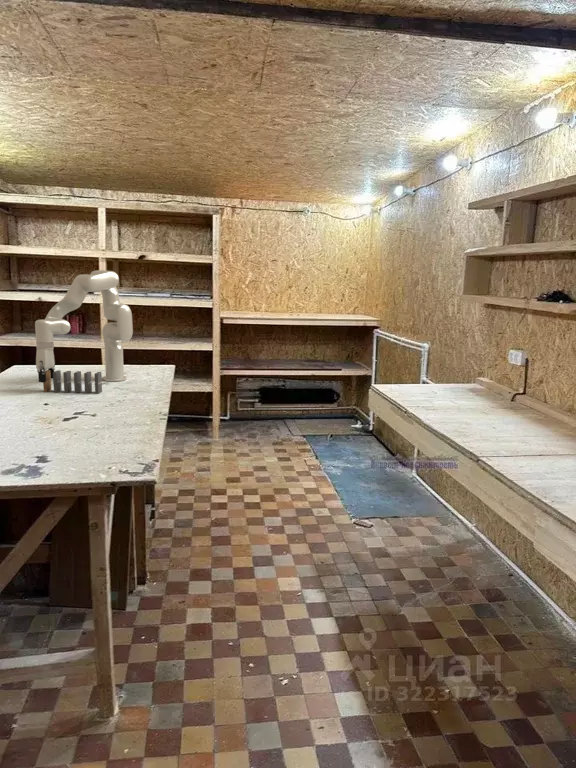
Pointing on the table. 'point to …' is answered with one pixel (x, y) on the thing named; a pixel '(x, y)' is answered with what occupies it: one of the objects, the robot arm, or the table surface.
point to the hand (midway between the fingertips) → (46, 380)
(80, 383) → the domino
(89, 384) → the domino
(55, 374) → the domino
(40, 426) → the table surface
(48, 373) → the domino
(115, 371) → the robot arm
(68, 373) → the domino
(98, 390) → the domino
